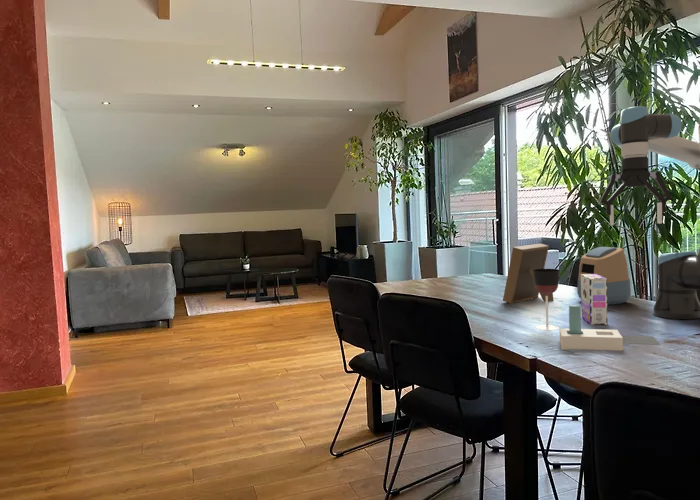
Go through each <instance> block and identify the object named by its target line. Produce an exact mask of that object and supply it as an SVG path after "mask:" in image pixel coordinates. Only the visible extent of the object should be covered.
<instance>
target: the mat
mask: <svg viewBox="0 0 700 500" xmlns="http://www.w3.org/2000/svg"><path fill="white" fill-rule="evenodd" d="M621 336H622V337H623V345H624V344H625V345H626V344H627V345H656V346H658V345H660V346H661V343H660V342H659V341H658V340H657V339H656V338H655V337H654V336H652V335H651V336H649V335H647V336H646V335H645V336H644V335H621Z"/></svg>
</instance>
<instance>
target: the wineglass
mask: <svg viewBox="0 0 700 500" xmlns="http://www.w3.org/2000/svg"><path fill="white" fill-rule="evenodd" d="M533 278H534V284H535V287H536V289H537V290H538V291H539V292H540V293H542V294H544V295H545V296H546V301H545V324H543V325H536V327H535V328H536V329H538V330H542V331H555V330H560V327H559V326H557V325H552V324H551V325H549V301H548V295H550V294H552V293H555V292H556V291H557V290H558V288H559V284H560V269H556V268H544V269H535V270H533ZM540 293H539V294H540Z"/></svg>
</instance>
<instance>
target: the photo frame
mask: <svg viewBox="0 0 700 500" xmlns="http://www.w3.org/2000/svg"><path fill="white" fill-rule="evenodd" d="M549 247H550V245H548V244H544V243H533V244H526V245H525V244H524V245H519V246H513V247H512V251H511V256H510V260H509V266H508V270H507V271H508V272H507V276H506V277H507V278H506V281H505V282H506V283H505V287H504V292H503V298H502V301H503V302H506V303H508V304H510V305H511V304H512V303H513V304H517V303H521V302H525V301H529V300H532V299H531V298H533V299H536V298H535V297H537V298H538V297H539V295H540V297H541V299H542V301H543V302H544V301H545V302H546V296H545V295H544V294H542V293H540V292H539V291H538V290H537V289H536V287H535V284H534V278H533V270H535V269H545V267H546V266H545V265H546V262H547V257H548V254H549V253H548V252H549V249H550V248H549ZM553 293H554V292H553ZM553 293H552V294H550V295H548V302H553V301H554V294H553ZM528 299H529V300H528ZM524 300H525V301H524ZM520 301H521V302H520ZM516 302H517V303H516ZM513 304H512V305H513Z"/></svg>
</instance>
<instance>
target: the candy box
mask: <svg viewBox="0 0 700 500" xmlns="http://www.w3.org/2000/svg"><path fill="white" fill-rule="evenodd" d="M580 303H581V304H580V306H581V319H583V320H584V321H585V322H587V323H588V324H589V325H590V326H608V325H609V324H608V322H609V321H608V305H607V278H604V277H602V276H600V275H597V274H581V299H580Z"/></svg>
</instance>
